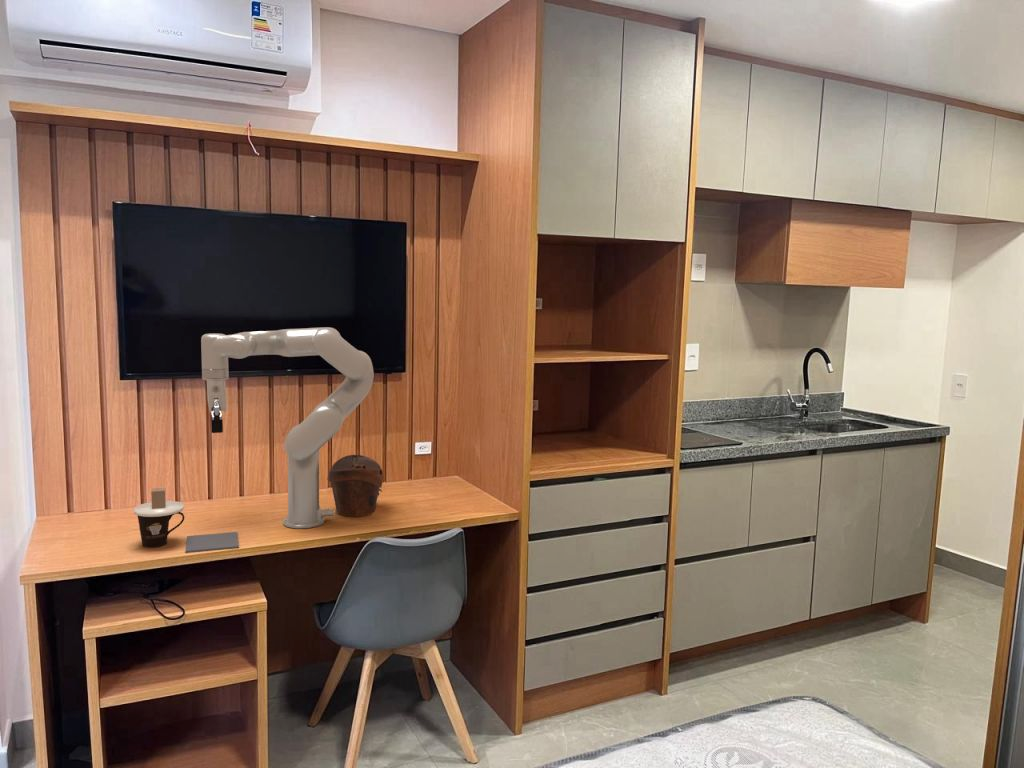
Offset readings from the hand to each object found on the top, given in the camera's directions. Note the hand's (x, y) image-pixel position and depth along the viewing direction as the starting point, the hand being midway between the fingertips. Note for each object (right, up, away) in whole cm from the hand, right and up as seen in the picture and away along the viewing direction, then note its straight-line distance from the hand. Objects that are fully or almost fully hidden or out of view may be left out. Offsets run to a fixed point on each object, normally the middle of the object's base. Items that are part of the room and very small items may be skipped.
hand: (217, 429), depth 236 cm
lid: (-10, -22, -16) cm, 29 cm away
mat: (+4, -32, -13) cm, 35 cm away
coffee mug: (-11, -32, -15) cm, 37 cm away
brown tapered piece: (+38, -29, +22) cm, 53 cm away
